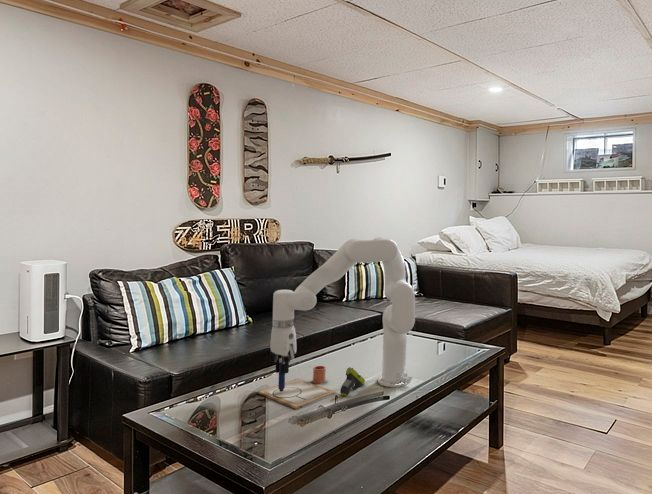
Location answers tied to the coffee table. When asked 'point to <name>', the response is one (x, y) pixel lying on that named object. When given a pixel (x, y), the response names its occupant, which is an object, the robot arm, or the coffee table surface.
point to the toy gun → (351, 381)
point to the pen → (281, 378)
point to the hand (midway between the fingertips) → (281, 372)
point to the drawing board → (296, 393)
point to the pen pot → (319, 374)
